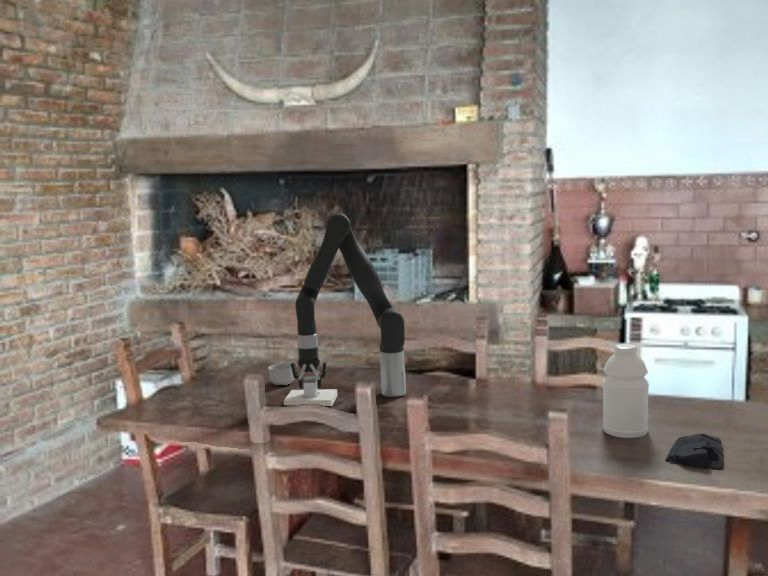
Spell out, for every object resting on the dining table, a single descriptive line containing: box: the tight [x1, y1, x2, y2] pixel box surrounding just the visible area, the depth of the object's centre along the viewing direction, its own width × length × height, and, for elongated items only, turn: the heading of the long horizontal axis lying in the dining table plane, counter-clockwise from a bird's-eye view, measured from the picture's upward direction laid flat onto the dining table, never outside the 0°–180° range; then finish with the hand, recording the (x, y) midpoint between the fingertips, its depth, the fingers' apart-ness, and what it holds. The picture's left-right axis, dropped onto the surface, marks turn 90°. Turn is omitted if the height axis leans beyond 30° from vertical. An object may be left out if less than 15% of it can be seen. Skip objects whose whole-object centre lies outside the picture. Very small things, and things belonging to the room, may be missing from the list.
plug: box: [303, 375, 319, 398], centre depth 287 cm, size 4×5×9 cm
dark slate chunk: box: [664, 433, 724, 470], centre depth 219 cm, size 15×22×5 cm
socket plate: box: [283, 388, 338, 407], centre depth 287 cm, size 18×14×2 cm
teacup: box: [267, 361, 296, 386], centre depth 314 cm, size 14×11×8 cm
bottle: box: [602, 343, 650, 439], centre depth 238 cm, size 14×14×28 cm
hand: (310, 388), depth 287 cm, fingers open, 6 cm apart
